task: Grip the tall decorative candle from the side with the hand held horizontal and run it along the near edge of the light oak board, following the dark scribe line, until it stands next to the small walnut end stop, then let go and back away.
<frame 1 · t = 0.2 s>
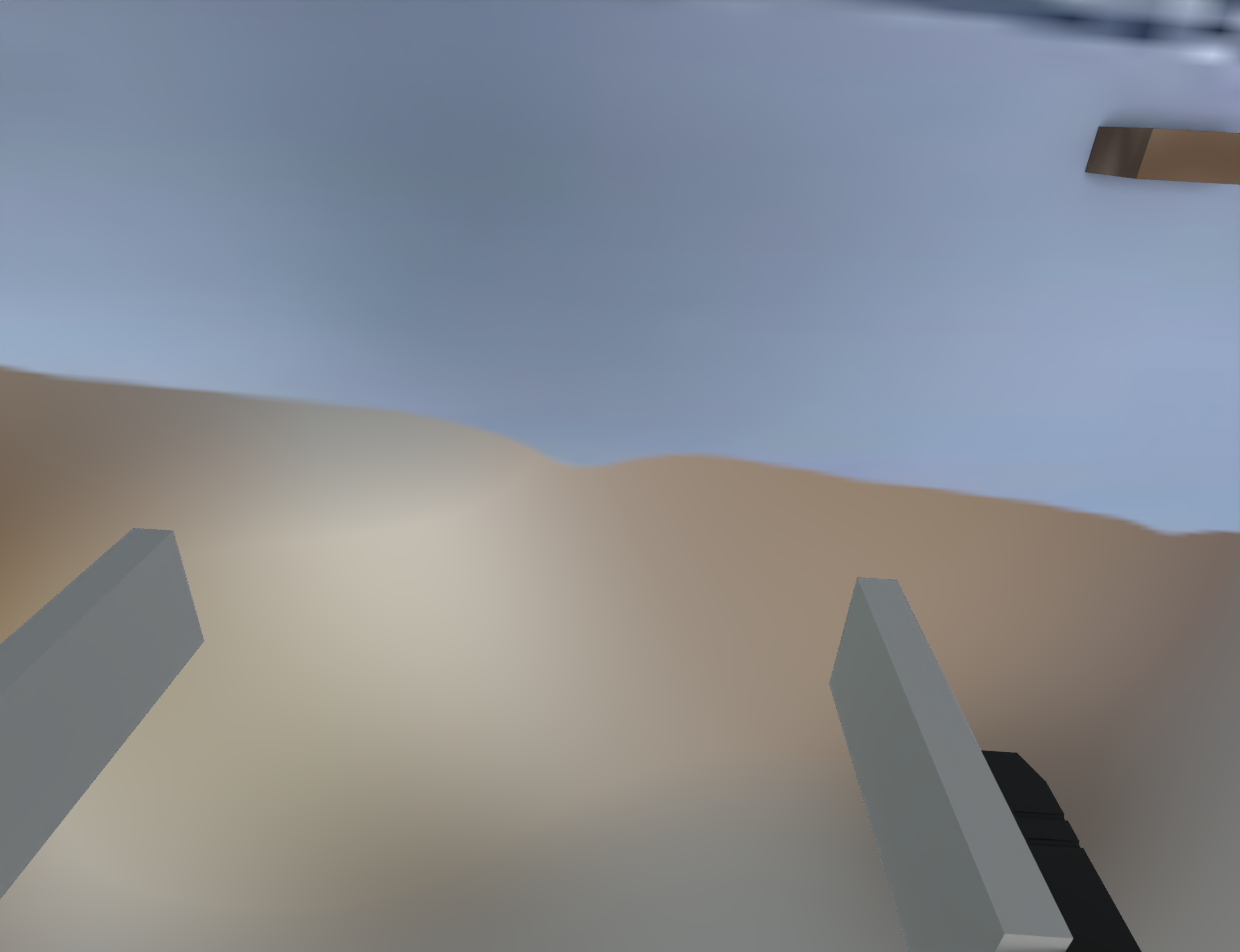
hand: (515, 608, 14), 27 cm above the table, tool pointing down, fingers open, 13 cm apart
walnut end stop: (1153, 153, 35), on the table
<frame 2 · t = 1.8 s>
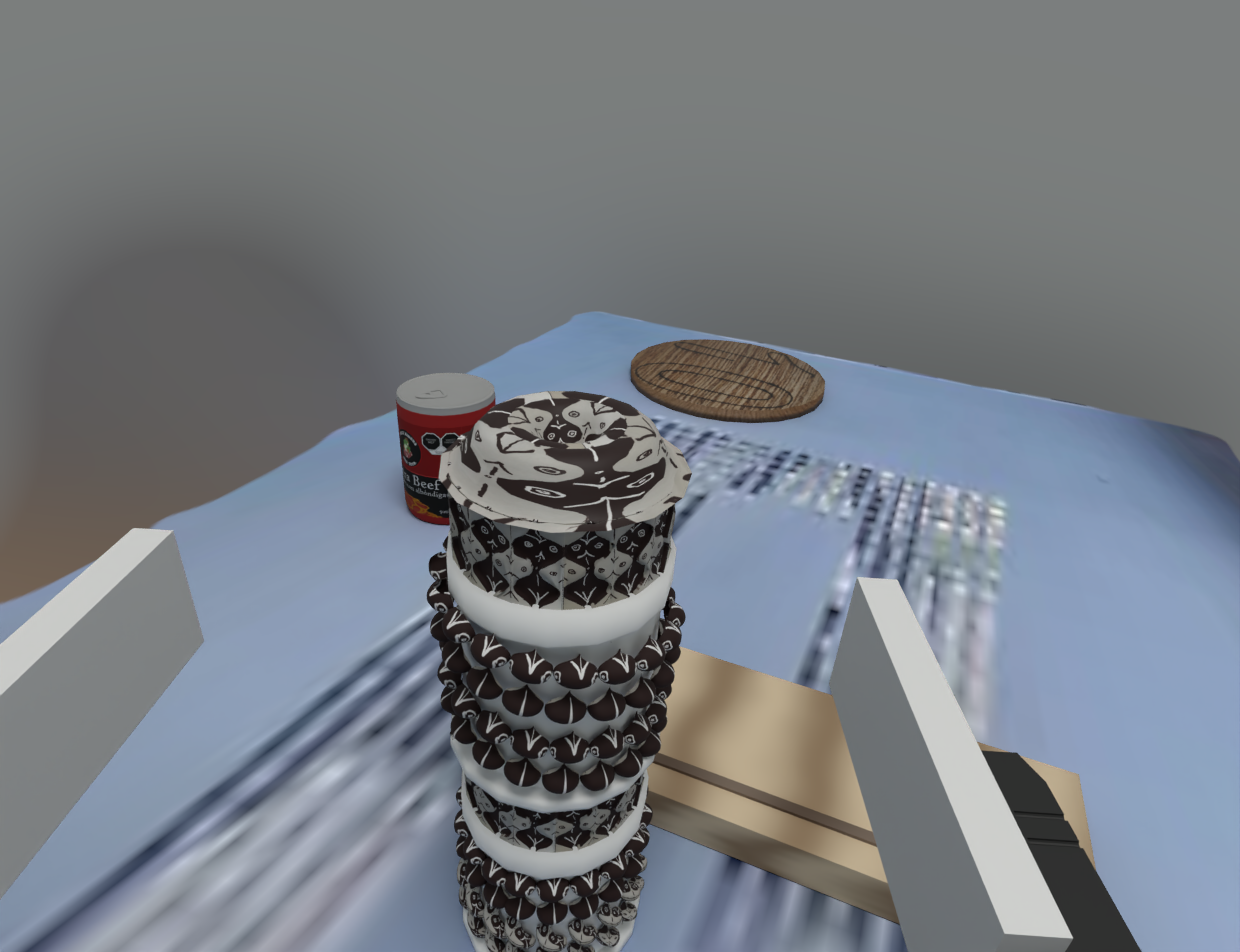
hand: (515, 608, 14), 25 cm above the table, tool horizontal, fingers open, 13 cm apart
canned food: (452, 505, 66), on the table
trivet: (725, 386, 96), on the table
decorative candle: (550, 895, 35), on the table
oak board: (798, 790, 41), on the table
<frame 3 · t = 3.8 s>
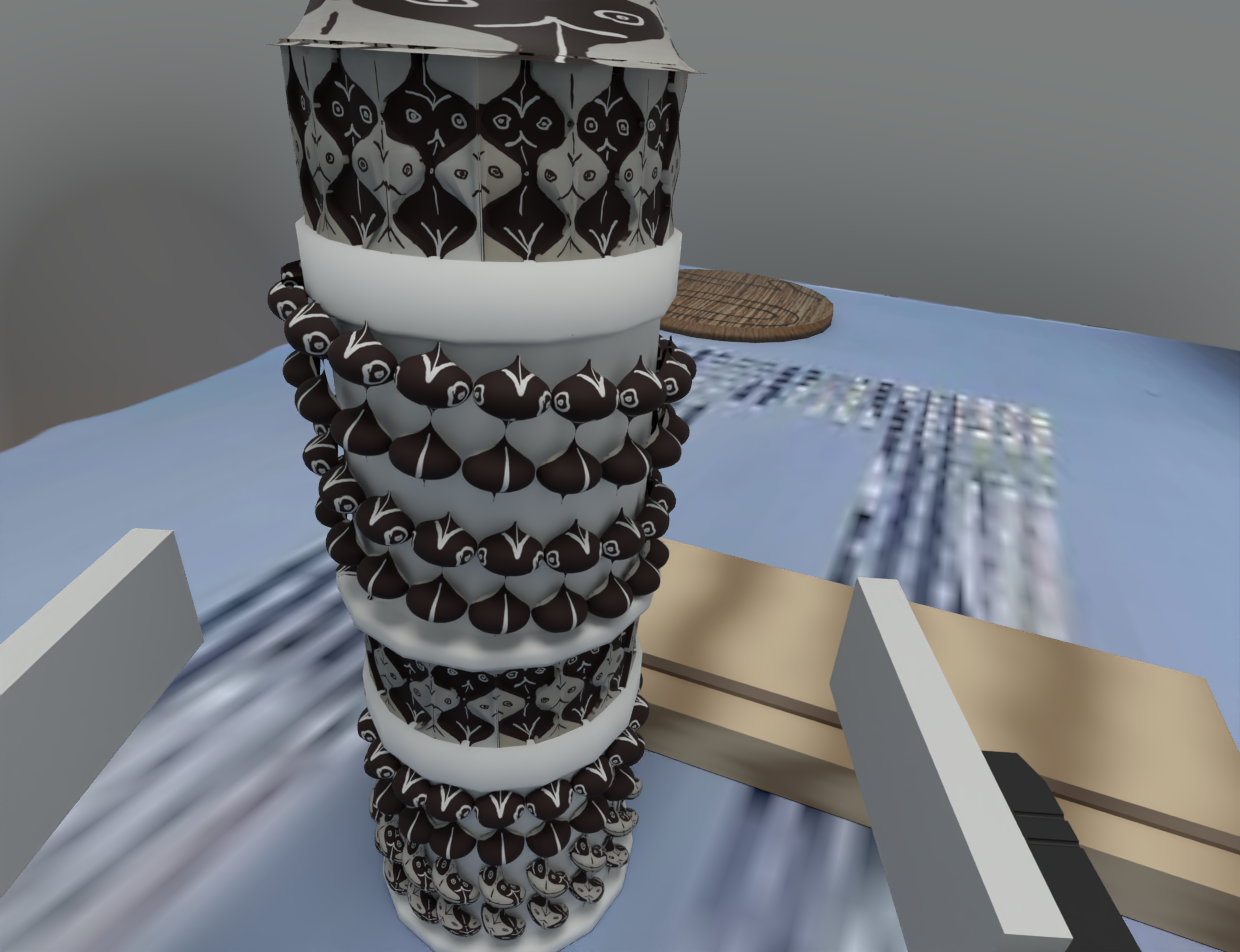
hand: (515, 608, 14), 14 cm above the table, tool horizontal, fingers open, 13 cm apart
trivet: (722, 312, 86), on the table
decorative candle: (509, 840, 25), on the table
oak board: (839, 707, 32), on the table
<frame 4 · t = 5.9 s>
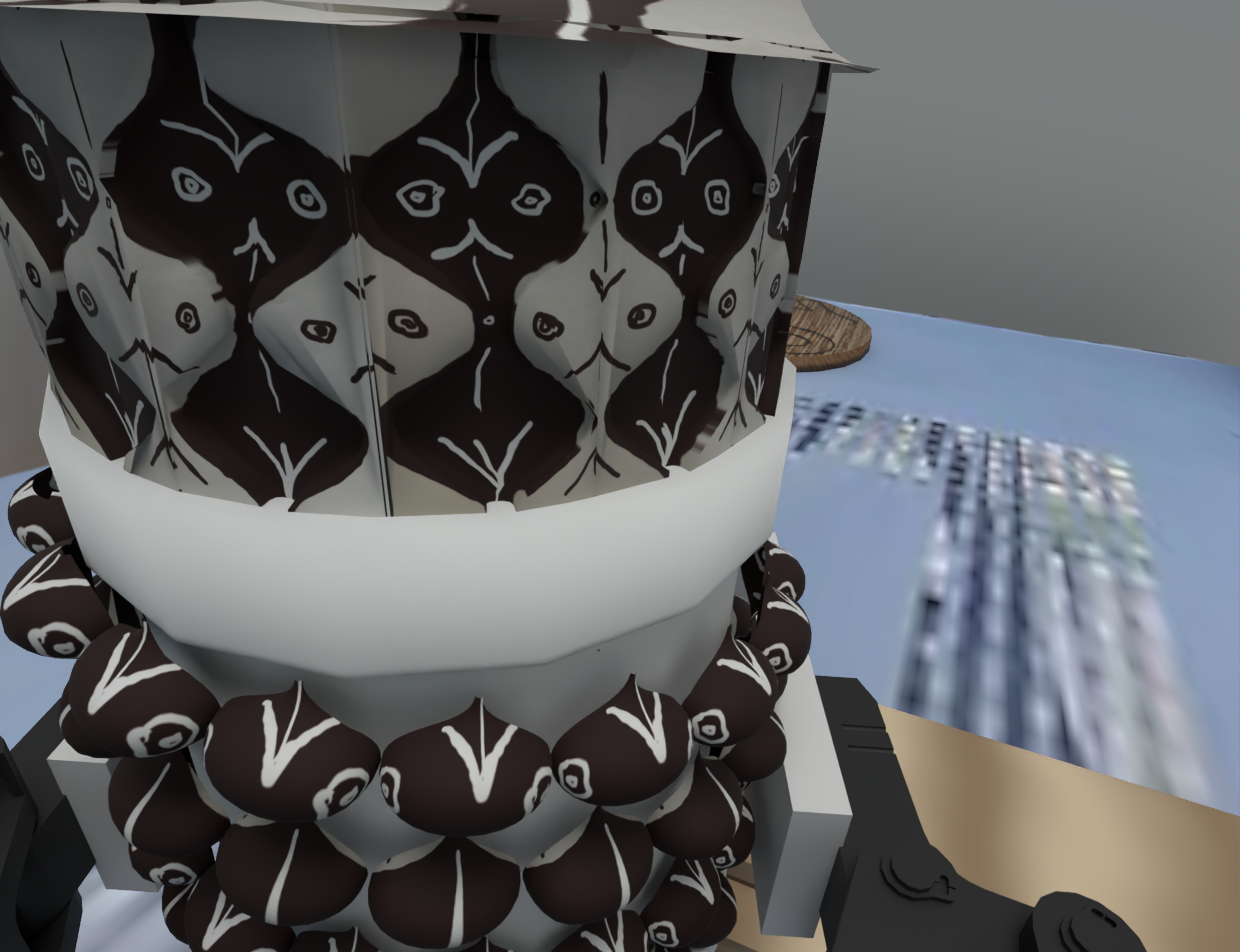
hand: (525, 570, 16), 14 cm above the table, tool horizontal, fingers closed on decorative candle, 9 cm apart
trivet: (748, 335, 79), on the table
oak board: (932, 898, 24), on the table
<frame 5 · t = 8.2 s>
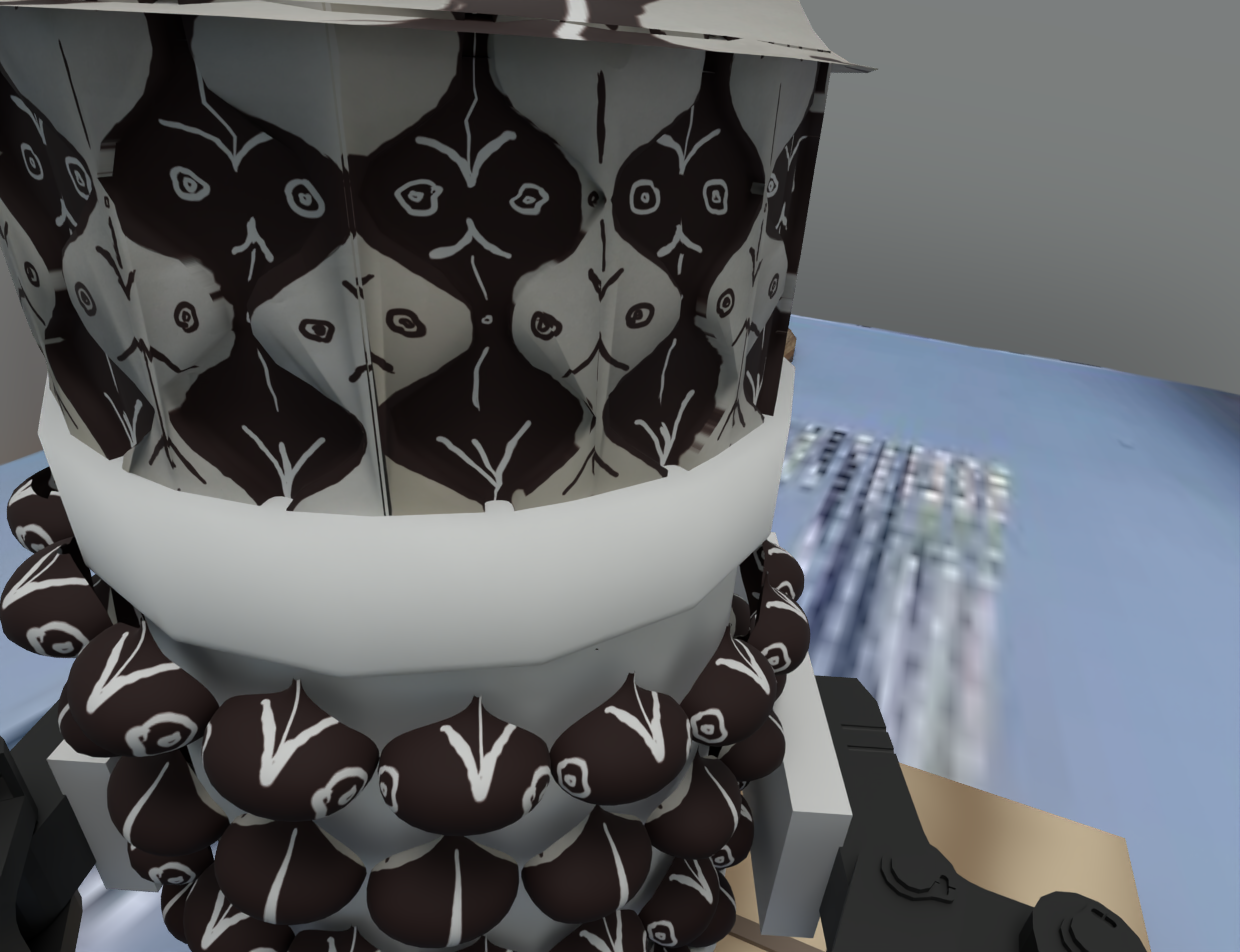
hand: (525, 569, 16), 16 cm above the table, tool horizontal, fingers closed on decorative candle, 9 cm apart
oak board: (706, 861, 28), on the table
when the fingers open (15 cm above the table, at t = 10.7 s): decorative candle stays where it is, on the table.
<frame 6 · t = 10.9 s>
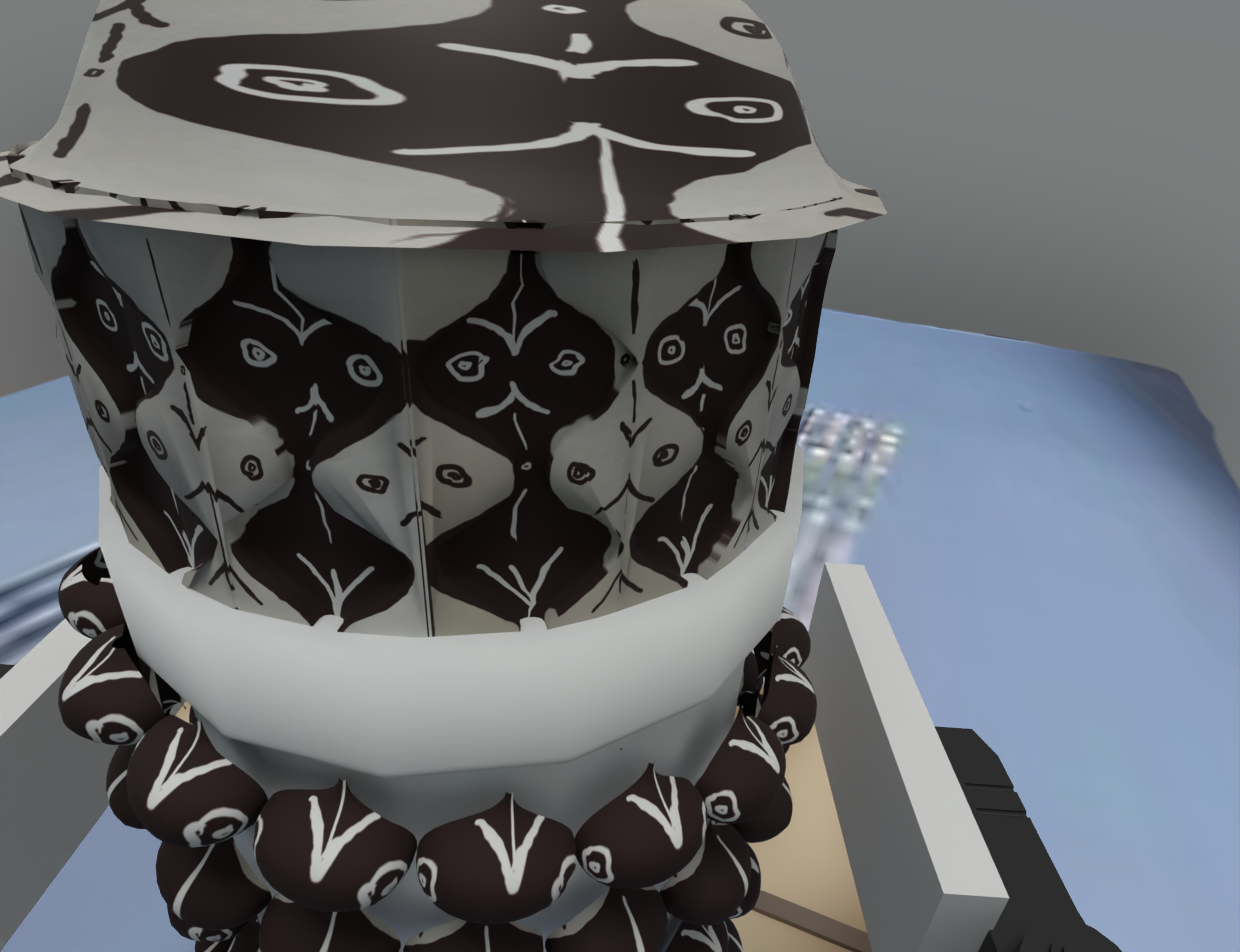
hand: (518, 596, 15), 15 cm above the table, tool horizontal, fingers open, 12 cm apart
oak board: (509, 755, 30), on the table
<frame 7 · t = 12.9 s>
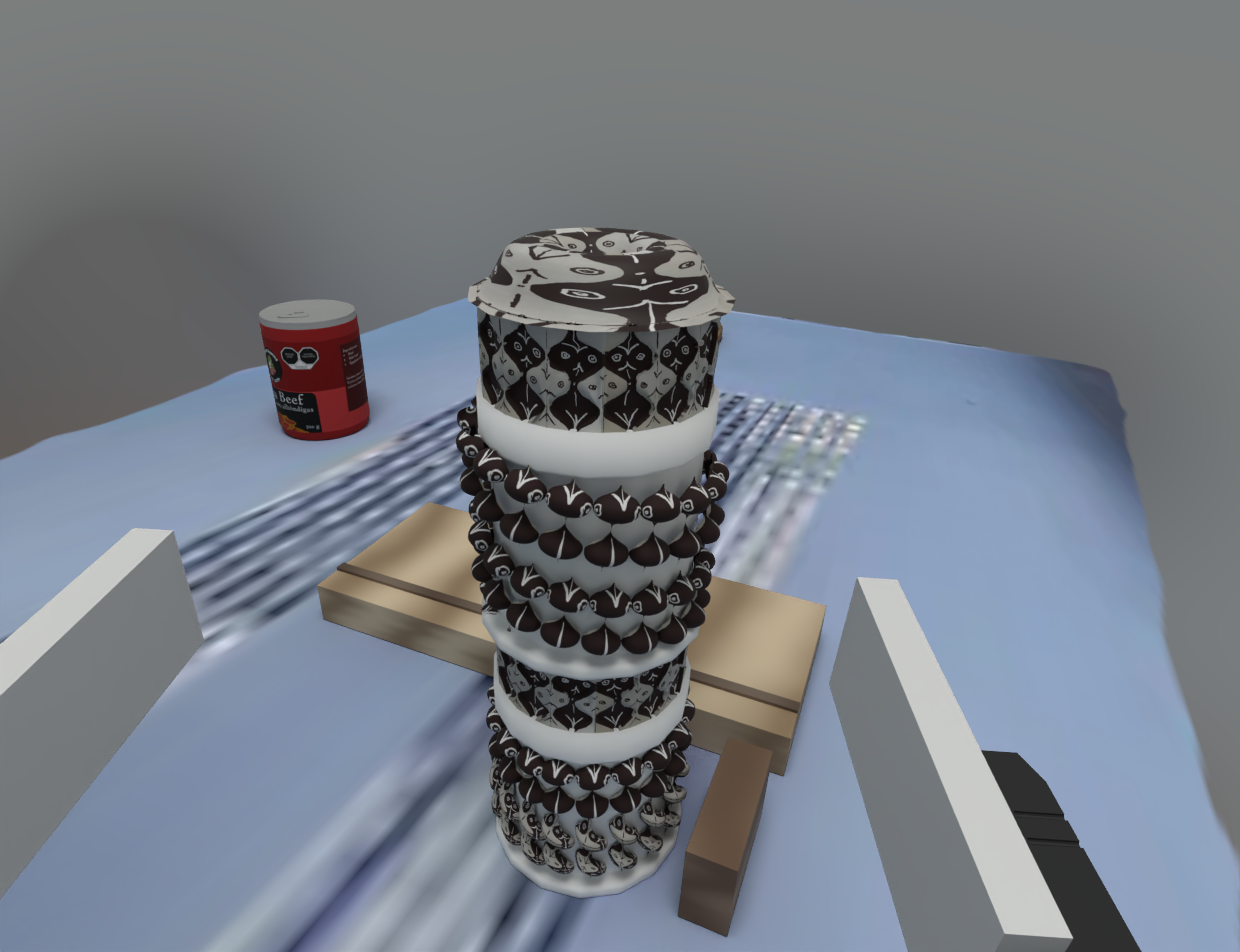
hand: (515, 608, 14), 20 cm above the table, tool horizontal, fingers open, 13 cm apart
canned food: (327, 426, 70), on the table
walnut end stop: (722, 861, 31), on the table
decorative candle: (587, 810, 33), on the table
oak board: (571, 628, 44), on the table
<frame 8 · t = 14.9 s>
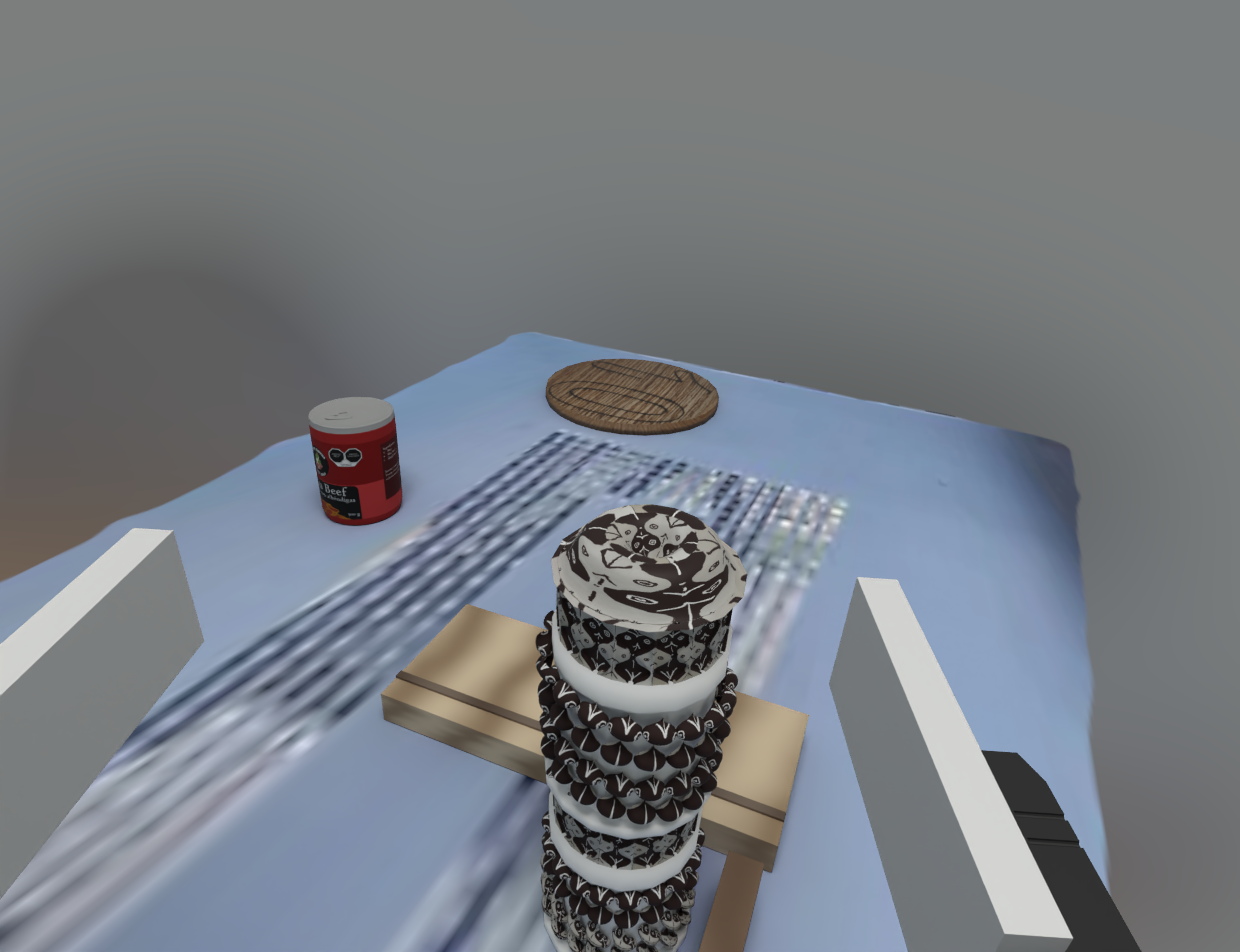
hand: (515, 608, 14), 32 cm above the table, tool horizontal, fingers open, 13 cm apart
canned food: (364, 509, 77), on the table
walnut end stop: (723, 950, 40), on the table
trivet: (631, 401, 107), on the table
decorative candle: (615, 904, 42), on the table
oak board: (594, 729, 53), on the table
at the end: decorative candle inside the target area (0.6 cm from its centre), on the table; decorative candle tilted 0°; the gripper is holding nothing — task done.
